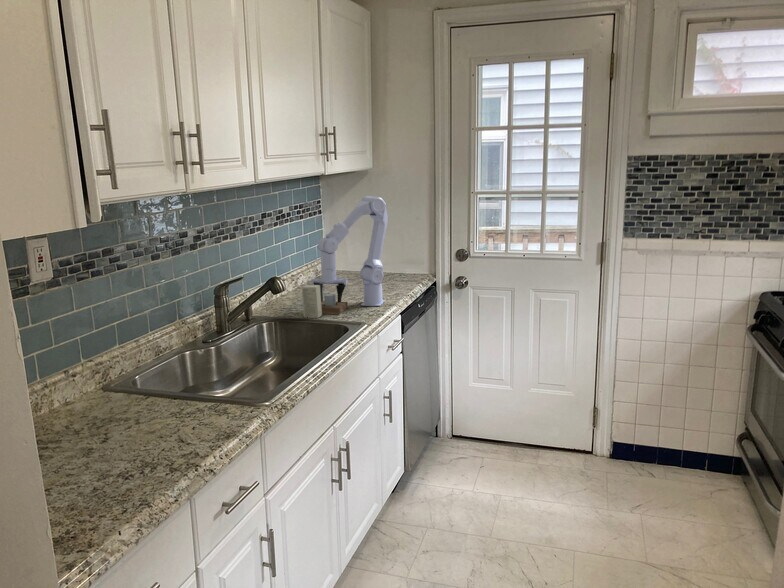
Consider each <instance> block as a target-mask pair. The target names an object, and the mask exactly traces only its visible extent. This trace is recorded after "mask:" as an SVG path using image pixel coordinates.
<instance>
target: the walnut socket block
mask: <svg viewBox="0 0 784 588" xmlns="http://www.w3.org/2000/svg"><path fill="white" fill-rule="evenodd" d="M321 306H322V315H341V314H343V312H344V310H345V311H346V310H347V309H349V306H348V301H341V302H340V303H338V301H336V305H335V306H325V300H323V301H322V302H321Z"/></svg>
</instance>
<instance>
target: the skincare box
mask: <svg viewBox="0 0 784 588" xmlns="http://www.w3.org/2000/svg"><path fill="white" fill-rule="evenodd" d="M300 288H301V299H302V309H303V311H302V312H303V318H307V317H308V318H309V319H310V318H312V319H316V318H317V319H319V318H320V317H321V316H323V314H322V306H321V293H320V285H314V284H304V285H303V286H301V287H300ZM308 318H307V319H308Z"/></svg>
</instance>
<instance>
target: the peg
mask: <svg viewBox="0 0 784 588" xmlns="http://www.w3.org/2000/svg"><path fill="white" fill-rule="evenodd" d="M336 298H337V296H336V293H327V294H325V295H324V297H323V299H324V301H325V306H335V305H336V302H337V299H336Z"/></svg>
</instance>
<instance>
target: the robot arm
mask: <svg viewBox="0 0 784 588" xmlns="http://www.w3.org/2000/svg"><path fill="white" fill-rule="evenodd" d="M365 215H370V217H371V218H372V220H373V226H372V230H371V231H372V232H371V236H370V241H369V242H370V244H369V248H368V254H367V259H366V260H365V261H364V262H363V265H362V268H360V271H359V275H360V278H361V279H362V282H363V283H362V284H363V285H362V286H363V302H362V303H361V306H363V307H365V306H366V307H380V306H381V305H382V304H384V303H385V302H386V300H385V299H383V298H384V297H383V296H384V295H383V286H382V282H383V279H384V275H385V273H384V265H383V264H382V255H383V251H384V250H383V249H384V243H385V238H386V232H387V227H388V221H389V217H388V212H387V203H386V202H385V200H384V199H383V198H382V197H379V196H370V195H366V196H363V197H362V198H361V200H359V201H358V203H356V206H355V207H354V208H353V210H352V211H351V212H350V213H349V214H348V216H347V217H346V218H345V219H344V220H343V222H340V223H337V224H336V223H335V224H334V225H333V226H332V227H333V228H332V229H331V230H330V231H329V232H328V233H326V234H325V237H322V238H321V239H319V241H318V244H317V248H318V250H319V252H320V264H321V265H320V267H321V268H320V269H321V270H320V271H321V277H320V278H318V277H317V278H310V285H320V293H321V302H322V301H324V300H323V299H324V297H323V286H324V285H336V286H335V288H336V293H337V302H338V303H340V302H342V297H343V293H344V290H345V287H346V285H348V283H349V282H348V278H339V277H337V265H336V264H337V262H336V261H337V260H336V251H337V250H338V246H339V245H340V243H341V242H342V241H343V240H344V239H345V238H346V237H347V236H348V235H349V229H350V228H352V226H353V225H354V224H355V223H356V222H357V221H358V220H359V219H361V217H362V216H365Z"/></svg>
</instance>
